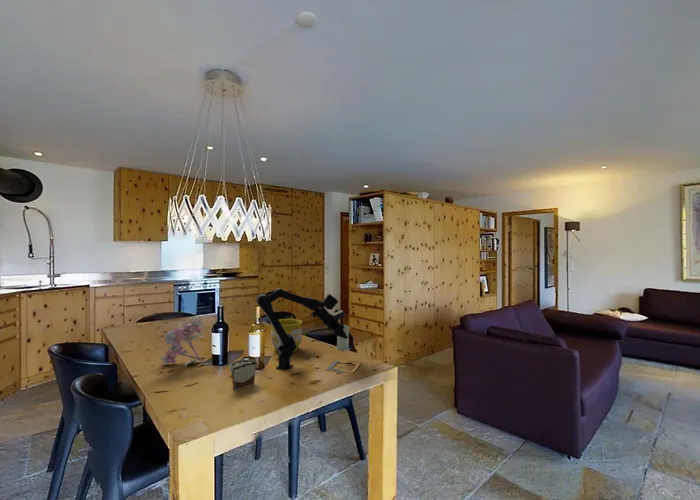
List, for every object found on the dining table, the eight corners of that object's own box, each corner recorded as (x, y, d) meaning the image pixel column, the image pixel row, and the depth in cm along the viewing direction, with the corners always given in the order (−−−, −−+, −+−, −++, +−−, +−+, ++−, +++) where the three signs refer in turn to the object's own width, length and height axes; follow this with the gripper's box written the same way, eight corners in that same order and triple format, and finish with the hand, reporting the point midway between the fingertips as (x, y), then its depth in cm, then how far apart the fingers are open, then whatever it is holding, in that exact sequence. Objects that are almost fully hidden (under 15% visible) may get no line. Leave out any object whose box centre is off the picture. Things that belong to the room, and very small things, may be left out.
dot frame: (354, 373, 168) (354, 372, 168) (326, 370, 172) (326, 369, 172) (361, 364, 182) (361, 363, 182) (334, 361, 185) (334, 360, 185)
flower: (194, 350, 198) (173, 313, 190) (221, 352, 186) (200, 312, 178) (164, 376, 182) (140, 336, 174) (191, 380, 170) (167, 338, 162)
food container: (248, 379, 159) (248, 357, 159) (257, 382, 155) (257, 359, 155) (223, 387, 150) (223, 363, 150) (231, 391, 146) (232, 367, 146)
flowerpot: (264, 352, 202) (264, 323, 202) (283, 344, 218) (283, 317, 218) (290, 356, 194) (290, 326, 194) (308, 348, 210) (308, 320, 210)
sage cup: (348, 351, 184) (348, 327, 184) (337, 351, 183) (337, 327, 183) (348, 347, 190) (348, 324, 190) (337, 347, 189) (337, 324, 189)
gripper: (340, 308, 176) (361, 329, 180) (331, 302, 194) (350, 321, 197) (325, 324, 174) (346, 345, 177) (317, 317, 192) (336, 337, 195)
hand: (345, 336), depth 187 cm, fingers closed on sage cup, 6 cm apart
